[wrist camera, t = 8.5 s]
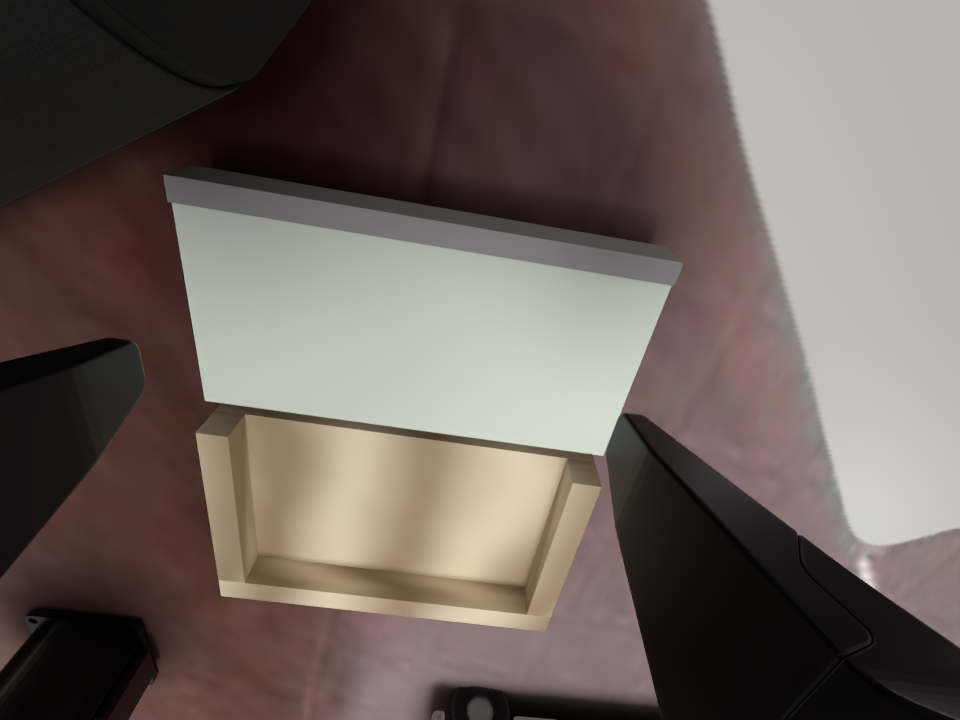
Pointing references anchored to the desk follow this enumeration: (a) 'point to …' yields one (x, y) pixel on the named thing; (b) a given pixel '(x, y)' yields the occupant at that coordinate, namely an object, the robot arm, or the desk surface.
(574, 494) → the tray
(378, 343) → the panel
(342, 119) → the desk surface
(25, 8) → the portable speaker
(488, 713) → the toy car
